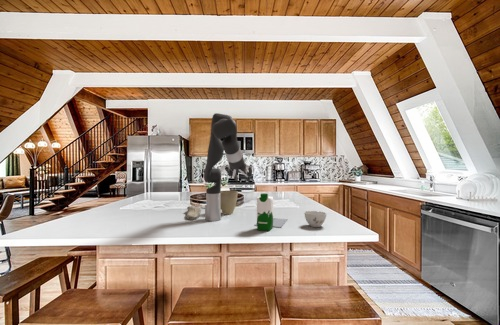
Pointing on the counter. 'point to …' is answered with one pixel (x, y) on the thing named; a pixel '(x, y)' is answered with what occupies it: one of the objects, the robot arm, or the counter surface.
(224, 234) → the counter surface
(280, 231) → the counter surface
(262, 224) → the milk carton
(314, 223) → the teacup
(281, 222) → the slate mat
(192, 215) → the elongated rock
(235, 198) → the plant pot
